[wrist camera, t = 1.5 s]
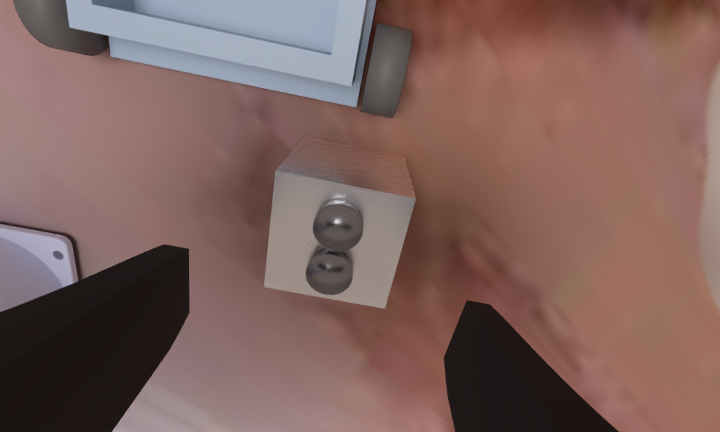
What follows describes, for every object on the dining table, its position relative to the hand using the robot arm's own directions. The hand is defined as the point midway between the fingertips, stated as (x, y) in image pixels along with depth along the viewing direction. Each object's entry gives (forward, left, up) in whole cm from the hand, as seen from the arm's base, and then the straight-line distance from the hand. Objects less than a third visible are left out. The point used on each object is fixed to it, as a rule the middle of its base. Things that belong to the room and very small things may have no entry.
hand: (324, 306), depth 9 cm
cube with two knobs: (0, 0, -8) cm, 8 cm away
